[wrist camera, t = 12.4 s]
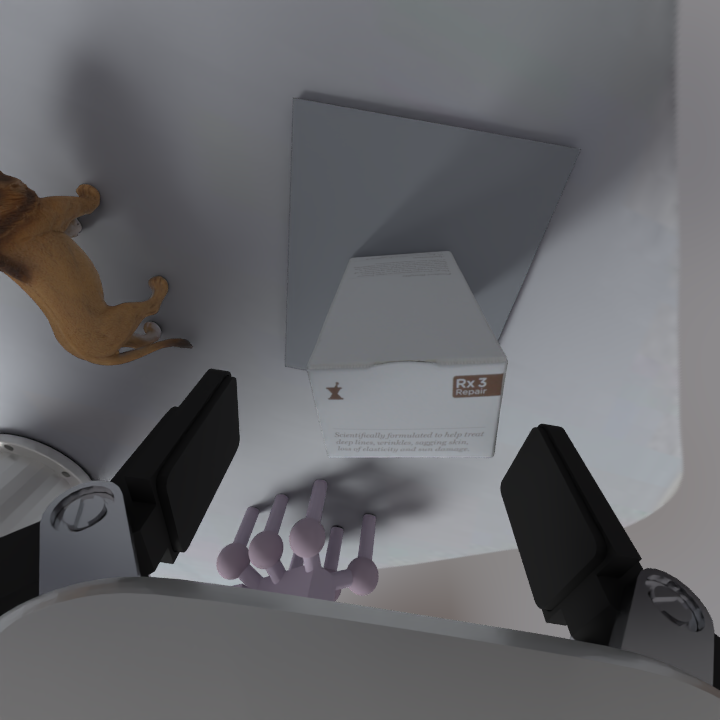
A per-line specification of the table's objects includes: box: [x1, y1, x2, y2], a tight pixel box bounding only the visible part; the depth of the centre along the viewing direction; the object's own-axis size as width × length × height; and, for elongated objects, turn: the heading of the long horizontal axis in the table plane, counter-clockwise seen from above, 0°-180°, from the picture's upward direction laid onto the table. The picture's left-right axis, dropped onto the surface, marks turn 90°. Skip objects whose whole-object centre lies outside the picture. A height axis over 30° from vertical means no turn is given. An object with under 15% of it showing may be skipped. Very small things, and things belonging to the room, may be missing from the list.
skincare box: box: [307, 251, 508, 458], centre depth 16 cm, size 6×4×12 cm
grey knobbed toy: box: [217, 479, 378, 602], centre depth 33 cm, size 20×11×14 cm, turn 128°
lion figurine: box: [0, 171, 193, 365], centre depth 19 cm, size 15×5×9 cm, turn 31°
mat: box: [285, 98, 581, 370], centre depth 21 cm, size 16×14×1 cm
